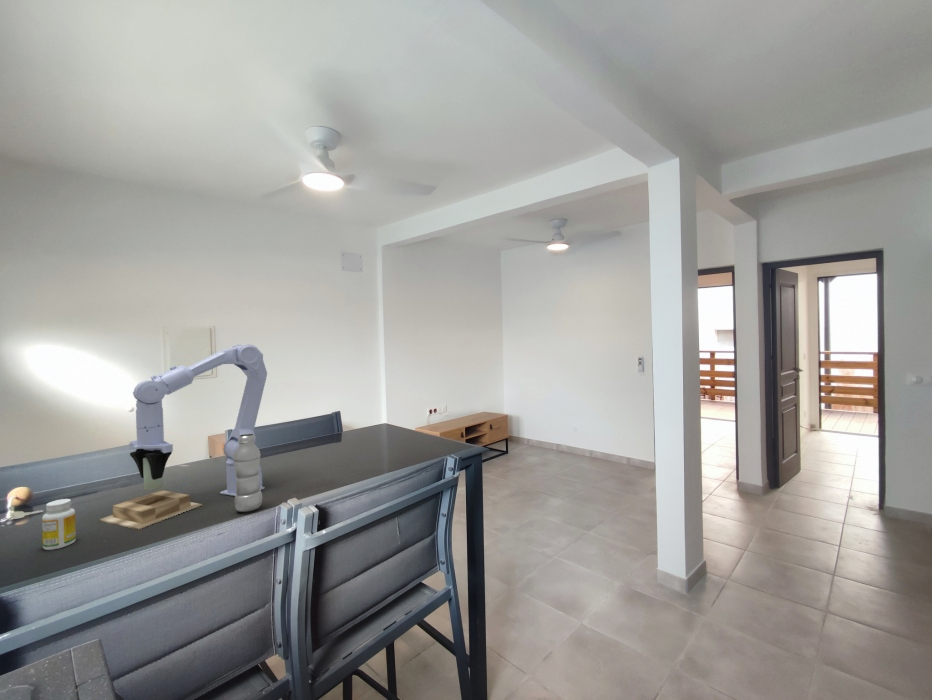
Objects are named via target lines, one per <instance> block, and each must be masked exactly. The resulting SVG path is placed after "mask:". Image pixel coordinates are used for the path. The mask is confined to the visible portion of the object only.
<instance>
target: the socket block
mask: <svg viewBox="0 0 932 700" xmlns="http://www.w3.org/2000/svg"><path fill="white" fill-rule="evenodd" d="M191 500H192V499H191V494H185V493H180V492H174V491H168V490H164V489H163V490H158V491H155V492H151V493H148V494H145V495H142V496H139V497H135V498H133V499H132V498H131V499H129V500H126V501H123V502H120V503H117V504H113V505H112V514H110V515H108V516H105V517H102V518H99V520H98V521H99V522H103V523H107V524H110V525H111V524H112V525H116V526H120V527H125V528H129V529H133V530H137V529H138V531H140V530H143V529H145V527H146V528H148V527H151V526H153V525H152V524H154V525H156V524H159V523H162V522H164V521H166V520H165V519H167V520H169V519H171V517H172V518H174V517H173V516H175V517H177V516H179V515H178V514H180V515H181V513H183V512H185V513H187V512H186V511H188V512H190V511H192V510H191V509H193V510H195V509H194V508H196V509H198V508H201V507H203V505H204V504H202V503H197V502H192V501H191ZM200 506H201V507H200ZM197 507H198V508H197ZM189 510H190V511H189ZM183 514H184V513H183ZM176 515H177V516H176ZM168 518H169V519H168ZM163 520H164V521H163ZM158 522H159V523H158ZM155 523H156V524H155ZM150 525H151V526H150ZM147 526H148V527H147ZM142 528H143V529H142Z"/></svg>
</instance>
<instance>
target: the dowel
mask: <svg viewBox="0 0 932 700" xmlns="http://www.w3.org/2000/svg"><path fill="white" fill-rule="evenodd" d="M143 475H144V478H143V490H144V491H152V490H157V489H161V488H163V487H164V486H163V483H164V482H163V477H162V478H159V479H155V480H153V479H152V476H151V470H150V465H149V462H148V460H147V458H146V457H145V458H143Z"/></svg>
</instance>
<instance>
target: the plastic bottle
mask: <svg viewBox="0 0 932 700" xmlns="http://www.w3.org/2000/svg"><path fill="white" fill-rule="evenodd" d="M254 434H255V433H254ZM254 434H243V435H239V441H238V443H240V445H239V447H238V448H237V449H236V451H235V452H234V455H233V461H234V465H235V470H236V477H237V478H236V480H237V484H236V495H235V496H234V507H235V509H236V510H237V511H238V513H239V512H240V513H248V512H252V511H254V510H257V509H259V508H260V507H261V505H263V504H262V503H263V494H262V490H260V483H259V465H261V464H260V463H261V451H260V449H259V448H258V446H257V445H256V444H254V441H255V442H256V439H254Z"/></svg>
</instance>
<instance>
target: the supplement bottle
mask: <svg viewBox="0 0 932 700" xmlns="http://www.w3.org/2000/svg"><path fill="white" fill-rule="evenodd" d="M45 505H46V506H45V510H46V513H44V514H43V515H42V517H41V525H42V526H41V528H42V530H41V532H42V533H41V534H42V535H41V536H42V548H43V550H46V551H53V550H58V549H62V548H65V547H67V546H70V545H71V544H73V543H75V542H76V539H77V538H76V537H77V535H76V533H77V532H76V531H77V530H76V528H77V527H76V510H75V509H74V508H73V507H71V506H72V499H70V498H61V499H56V500H52V501H50V502H47V503H46V504H45Z"/></svg>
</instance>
